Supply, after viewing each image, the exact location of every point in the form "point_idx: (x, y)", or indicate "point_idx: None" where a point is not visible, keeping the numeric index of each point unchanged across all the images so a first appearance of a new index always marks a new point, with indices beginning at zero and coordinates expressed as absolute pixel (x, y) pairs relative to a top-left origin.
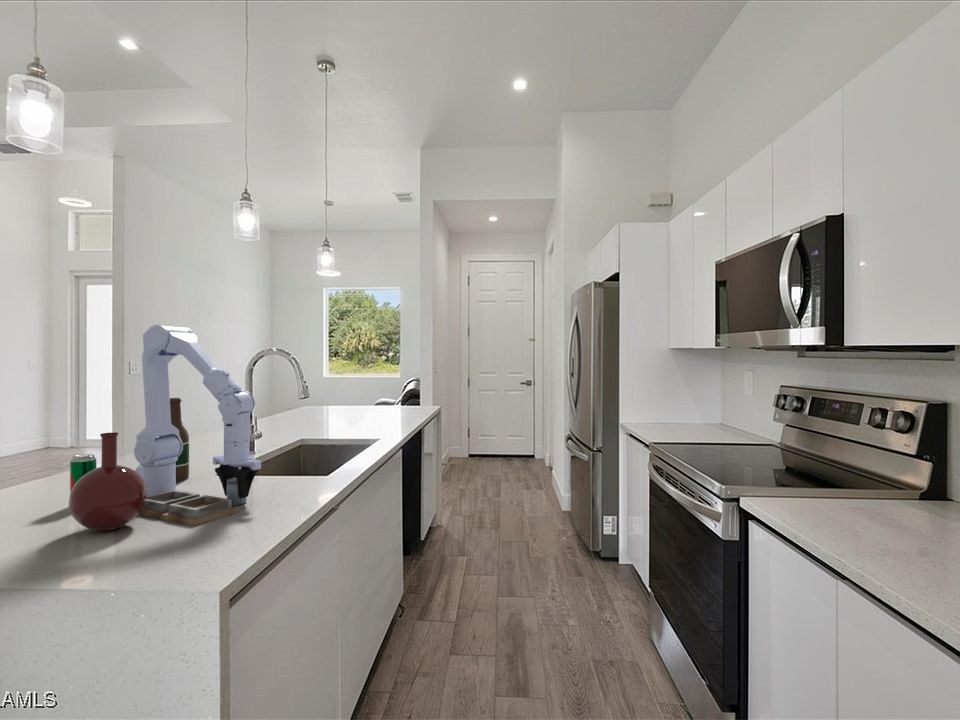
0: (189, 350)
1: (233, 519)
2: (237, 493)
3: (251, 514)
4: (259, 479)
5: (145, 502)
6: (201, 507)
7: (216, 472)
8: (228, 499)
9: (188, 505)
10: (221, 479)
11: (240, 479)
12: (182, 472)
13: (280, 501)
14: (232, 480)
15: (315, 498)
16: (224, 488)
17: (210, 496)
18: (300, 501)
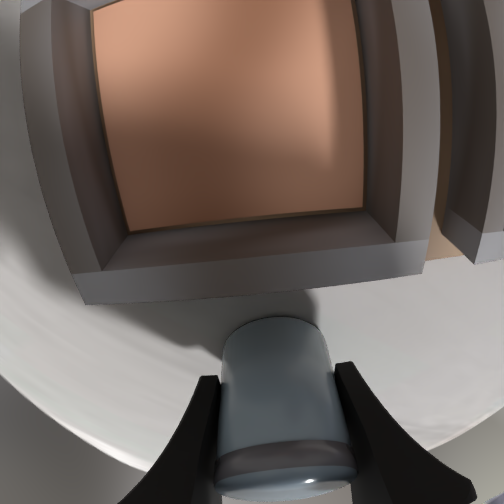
0: None
1: (8, 190)
2: (224, 396)
3: (34, 282)
4: (423, 445)
5: None
6: (39, 30)
7: (453, 479)
8: (103, 296)
9: (379, 70)
10: (397, 446)
11: (143, 487)
12: None
13: (148, 417)
14: (252, 477)
15: (111, 443)
16: (359, 397)
17: (342, 272)
18: (105, 425)
